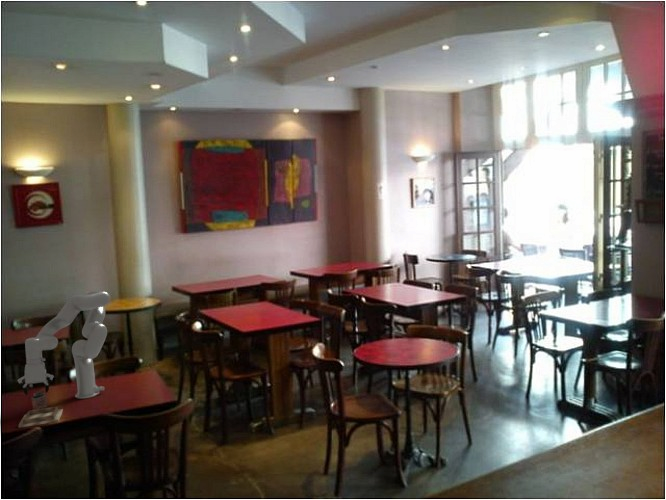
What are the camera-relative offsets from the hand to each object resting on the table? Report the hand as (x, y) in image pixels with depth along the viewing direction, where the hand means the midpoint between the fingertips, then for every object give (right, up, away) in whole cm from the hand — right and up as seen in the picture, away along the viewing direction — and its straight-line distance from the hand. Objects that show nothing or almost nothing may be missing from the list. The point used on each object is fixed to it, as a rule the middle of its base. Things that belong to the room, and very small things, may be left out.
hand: (36, 393), depth 321 cm
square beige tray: (+9, -10, -13) cm, 18 cm away
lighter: (+1, -10, +2) cm, 10 cm away
